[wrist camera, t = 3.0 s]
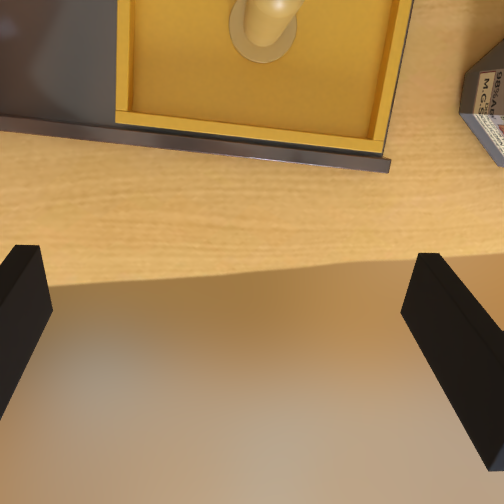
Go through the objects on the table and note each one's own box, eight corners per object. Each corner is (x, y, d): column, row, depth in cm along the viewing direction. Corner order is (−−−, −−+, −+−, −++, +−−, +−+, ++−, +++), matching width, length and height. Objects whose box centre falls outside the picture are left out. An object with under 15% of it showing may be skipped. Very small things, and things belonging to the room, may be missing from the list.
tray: (123, 121, 32) (52, 134, 19) (128, -118, 27) (40, -301, 15) (372, 149, 33) (455, 178, 21) (415, -74, 29) (554, -208, 16)
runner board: (-26, 123, 33) (-53, 125, 30) (-49, -162, 27) (-84, -195, 24) (375, 167, 35) (389, 173, 32) (426, -88, 30) (447, -110, 27)
